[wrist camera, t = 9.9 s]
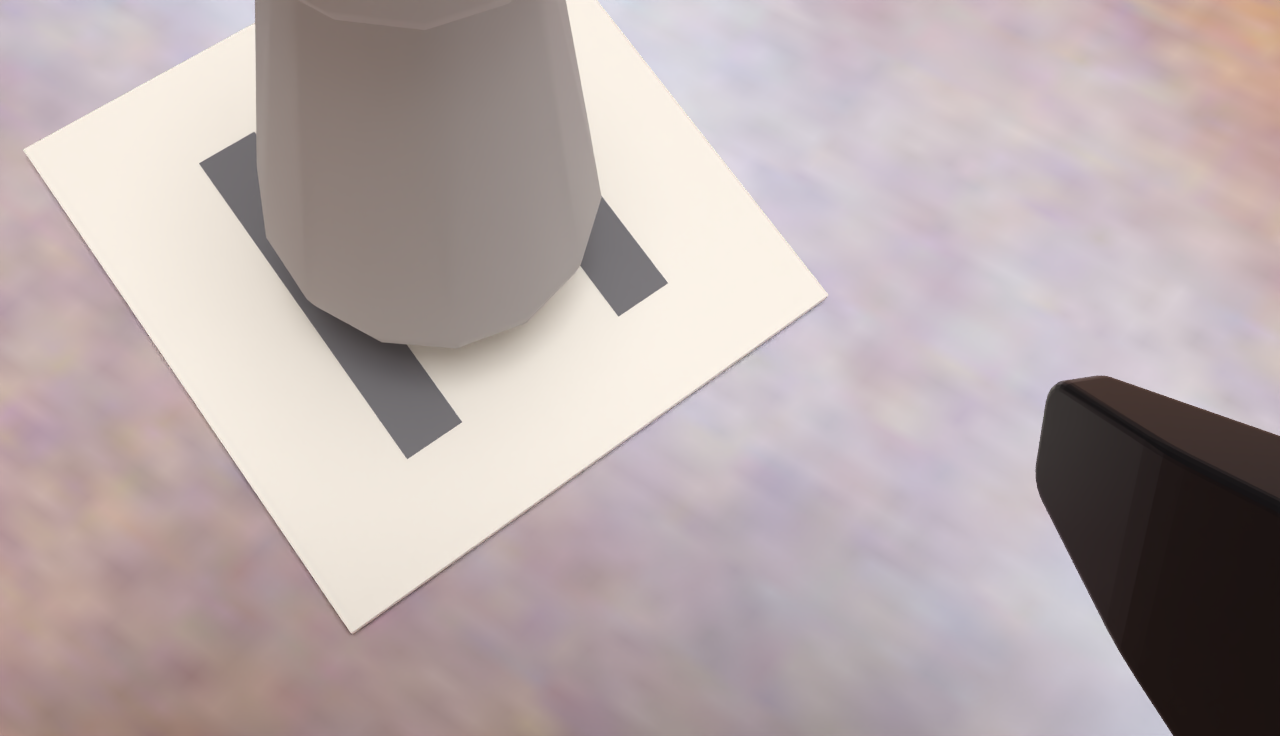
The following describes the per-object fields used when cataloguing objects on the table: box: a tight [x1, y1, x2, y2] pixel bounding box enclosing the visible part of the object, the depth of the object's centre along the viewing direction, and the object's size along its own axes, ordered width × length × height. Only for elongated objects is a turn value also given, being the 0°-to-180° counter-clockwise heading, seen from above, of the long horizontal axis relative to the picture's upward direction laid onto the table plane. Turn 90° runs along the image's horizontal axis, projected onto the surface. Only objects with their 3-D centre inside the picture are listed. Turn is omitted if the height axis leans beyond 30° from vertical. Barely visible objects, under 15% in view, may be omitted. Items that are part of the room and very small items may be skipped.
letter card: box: [23, 0, 828, 634], centre depth 23 cm, size 11×11×1 cm
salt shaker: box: [255, 0, 602, 349], centre depth 17 cm, size 6×6×13 cm
